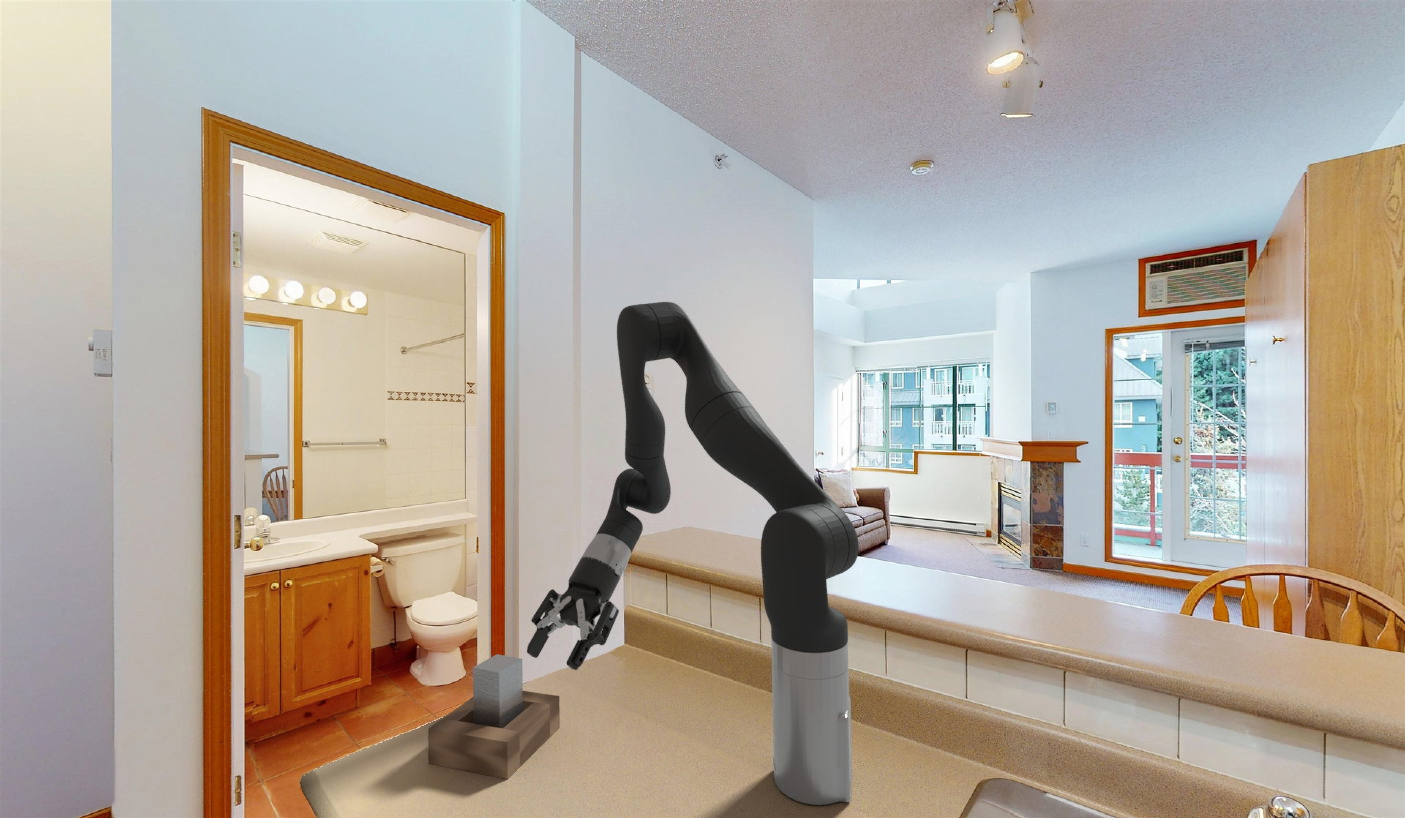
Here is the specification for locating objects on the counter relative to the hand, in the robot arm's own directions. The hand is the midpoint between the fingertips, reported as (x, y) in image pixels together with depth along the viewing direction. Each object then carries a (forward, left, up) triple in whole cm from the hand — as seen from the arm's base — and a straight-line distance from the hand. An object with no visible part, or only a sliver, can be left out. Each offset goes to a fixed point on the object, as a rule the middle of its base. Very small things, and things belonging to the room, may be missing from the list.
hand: (550, 661), depth 85 cm
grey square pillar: (+2, +9, -8) cm, 12 cm away
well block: (+2, +9, -8) cm, 12 cm away
